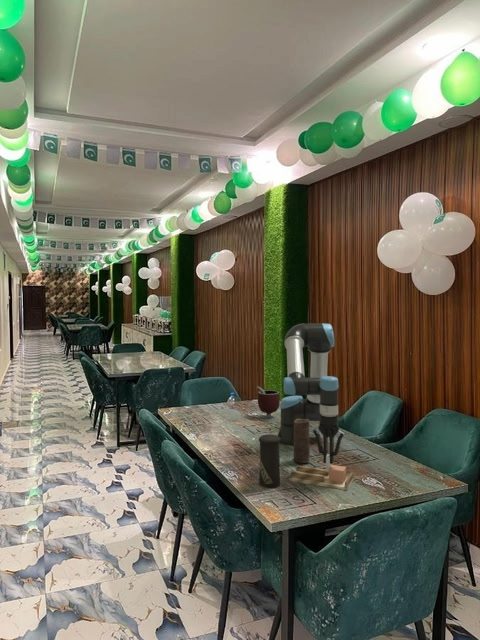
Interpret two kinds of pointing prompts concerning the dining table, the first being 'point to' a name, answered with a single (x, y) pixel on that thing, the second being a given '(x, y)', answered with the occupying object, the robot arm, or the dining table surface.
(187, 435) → the dining table surface
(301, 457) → the candle
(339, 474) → the block
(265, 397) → the mate gourd
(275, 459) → the container
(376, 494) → the dining table surface
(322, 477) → the chute
